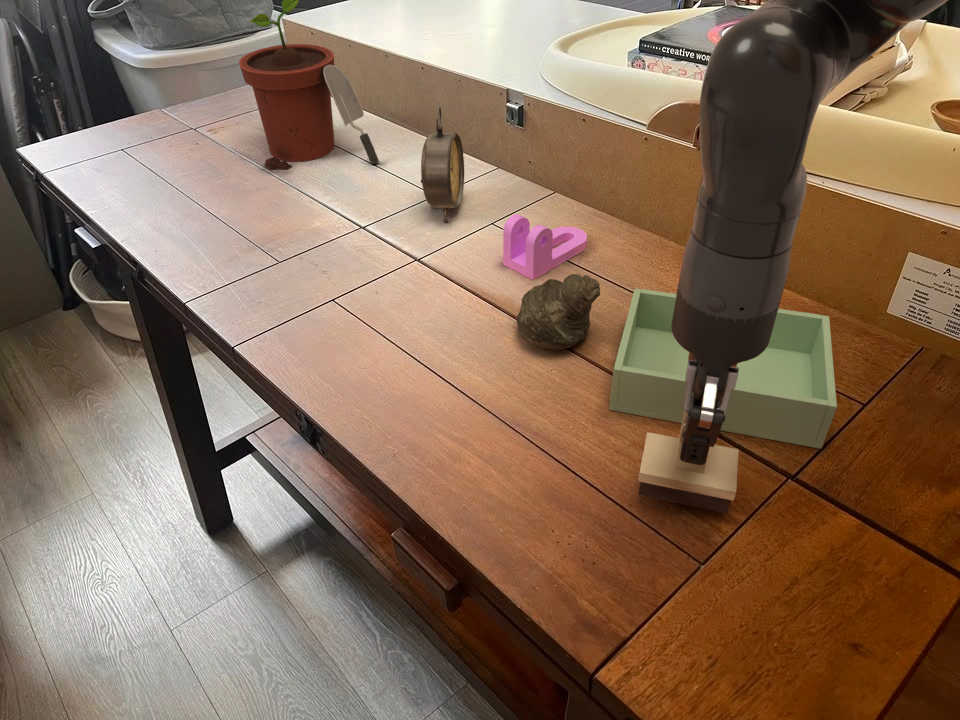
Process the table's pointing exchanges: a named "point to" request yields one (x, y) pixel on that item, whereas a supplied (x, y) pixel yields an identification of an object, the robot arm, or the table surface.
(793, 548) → the table surface
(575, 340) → the seashell
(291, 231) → the table surface
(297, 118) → the potted plant
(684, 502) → the base with upright post
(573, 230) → the bracket
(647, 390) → the bin
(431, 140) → the alarm clock
